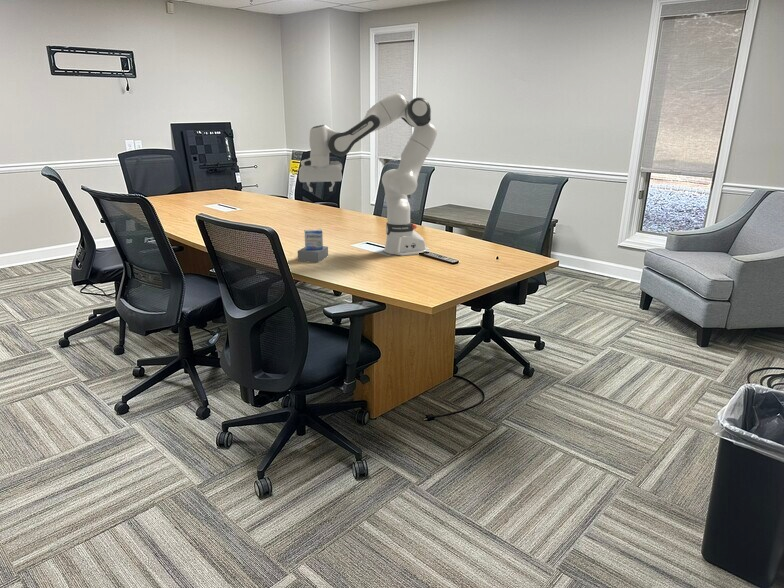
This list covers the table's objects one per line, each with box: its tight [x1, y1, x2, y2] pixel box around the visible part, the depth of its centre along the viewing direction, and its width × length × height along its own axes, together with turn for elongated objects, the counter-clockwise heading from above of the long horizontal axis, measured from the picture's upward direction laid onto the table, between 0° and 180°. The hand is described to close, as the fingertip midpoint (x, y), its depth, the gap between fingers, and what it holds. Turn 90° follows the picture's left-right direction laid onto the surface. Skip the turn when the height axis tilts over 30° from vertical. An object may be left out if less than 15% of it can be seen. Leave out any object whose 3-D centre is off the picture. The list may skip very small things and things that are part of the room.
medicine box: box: [303, 229, 324, 250], centre depth 251 cm, size 8×4×9 cm, turn 103°
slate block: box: [297, 245, 329, 263], centre depth 253 cm, size 10×12×5 cm
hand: (321, 191), depth 258 cm, fingers open, 8 cm apart
